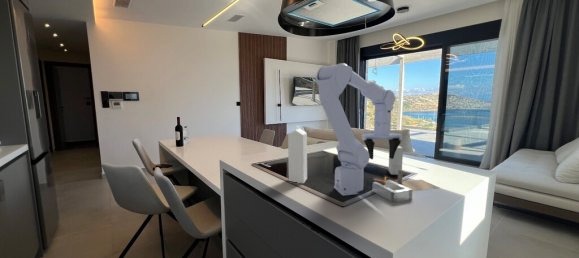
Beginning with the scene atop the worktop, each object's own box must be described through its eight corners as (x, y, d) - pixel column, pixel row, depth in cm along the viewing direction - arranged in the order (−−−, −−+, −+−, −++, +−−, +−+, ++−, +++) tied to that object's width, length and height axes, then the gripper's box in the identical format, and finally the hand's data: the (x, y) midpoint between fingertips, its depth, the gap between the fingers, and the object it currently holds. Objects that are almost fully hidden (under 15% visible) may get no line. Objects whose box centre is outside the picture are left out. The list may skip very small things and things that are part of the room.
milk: (288, 182, 96) (287, 126, 94) (293, 177, 102) (292, 124, 99) (303, 183, 95) (302, 126, 92) (307, 178, 100) (306, 124, 97)
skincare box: (402, 177, 100) (403, 148, 99) (390, 176, 101) (391, 148, 100) (398, 172, 106) (399, 145, 105) (388, 172, 107) (389, 145, 105)
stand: (402, 194, 83) (403, 174, 82) (387, 185, 91) (387, 167, 90) (440, 190, 85) (441, 171, 85) (421, 182, 94) (422, 164, 93)
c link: (412, 200, 77) (412, 189, 76) (393, 204, 74) (394, 192, 74) (389, 189, 86) (389, 179, 86) (372, 192, 84) (372, 182, 83)
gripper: (366, 124, 88) (365, 161, 89) (407, 123, 88) (405, 160, 90) (360, 122, 95) (359, 156, 96) (398, 121, 95) (396, 156, 97)
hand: (381, 158), depth 93 cm, fingers open, 7 cm apart
